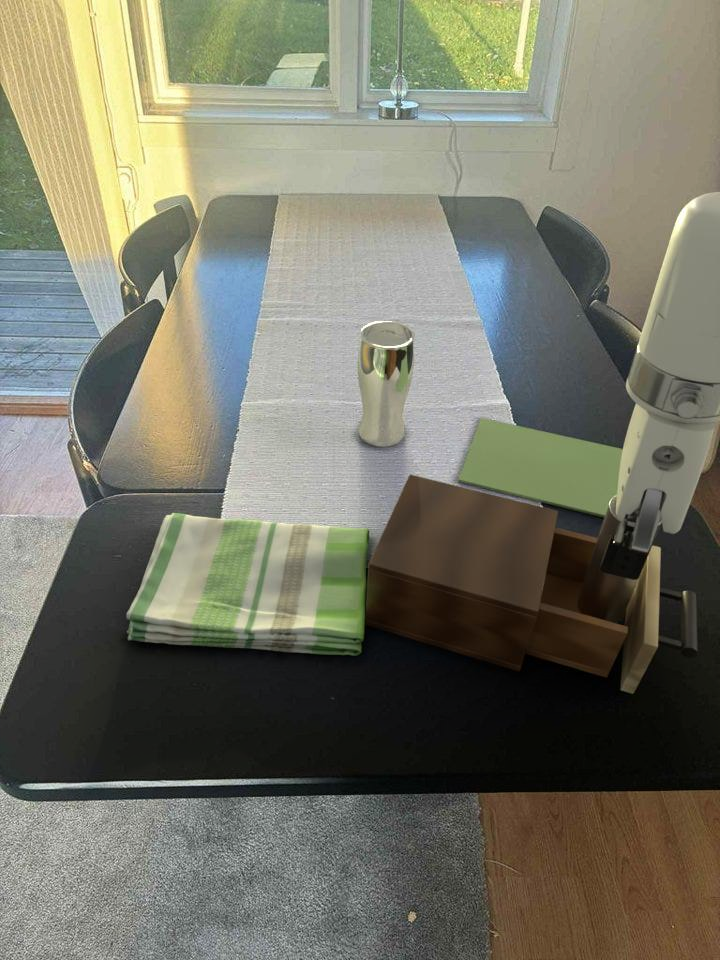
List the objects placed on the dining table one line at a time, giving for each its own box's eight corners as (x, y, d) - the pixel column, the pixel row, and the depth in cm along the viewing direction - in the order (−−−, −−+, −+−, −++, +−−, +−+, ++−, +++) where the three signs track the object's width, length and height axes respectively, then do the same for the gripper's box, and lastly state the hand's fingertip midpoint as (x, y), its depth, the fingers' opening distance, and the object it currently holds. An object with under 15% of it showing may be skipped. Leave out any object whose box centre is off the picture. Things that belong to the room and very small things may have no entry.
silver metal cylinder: (625, 596, 68) (664, 499, 60) (622, 630, 65) (663, 533, 57) (579, 584, 69) (611, 488, 61) (574, 617, 66) (607, 520, 58)
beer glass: (417, 433, 94) (428, 334, 84) (383, 456, 90) (389, 355, 81) (379, 411, 98) (385, 314, 88) (344, 432, 94) (346, 333, 84)
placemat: (629, 453, 93) (630, 450, 92) (623, 522, 82) (624, 520, 82) (481, 420, 97) (481, 417, 97) (458, 482, 87) (458, 479, 87)
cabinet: (540, 570, 76) (558, 510, 70) (519, 671, 67) (538, 611, 61) (403, 534, 80) (409, 473, 74) (364, 625, 70) (368, 563, 64)
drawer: (680, 606, 72) (705, 558, 67) (680, 708, 63) (709, 661, 58) (501, 558, 76) (513, 510, 71) (477, 648, 67) (489, 599, 63)
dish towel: (168, 522, 80) (164, 500, 78) (369, 533, 80) (370, 510, 77) (124, 648, 67) (117, 625, 65) (363, 661, 67) (364, 639, 65)
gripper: (749, 457, 43) (663, 638, 55) (734, 332, 55) (665, 502, 67) (624, 432, 45) (566, 612, 57) (636, 317, 57) (586, 485, 69)
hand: (620, 551), depth 62 cm, fingers closed on silver metal cylinder, 4 cm apart
